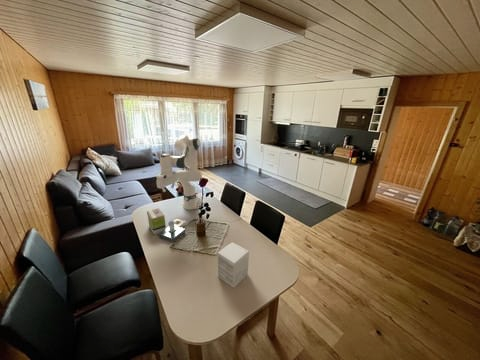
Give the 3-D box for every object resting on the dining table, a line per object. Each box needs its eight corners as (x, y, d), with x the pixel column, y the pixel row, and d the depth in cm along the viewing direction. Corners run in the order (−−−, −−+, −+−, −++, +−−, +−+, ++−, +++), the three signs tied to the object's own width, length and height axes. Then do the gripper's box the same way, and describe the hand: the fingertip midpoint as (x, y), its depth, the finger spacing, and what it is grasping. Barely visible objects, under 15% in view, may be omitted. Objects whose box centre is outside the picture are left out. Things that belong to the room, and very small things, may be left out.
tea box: (148, 226, 163) (146, 210, 158) (161, 222, 169) (159, 207, 164) (153, 235, 152) (151, 218, 147) (166, 230, 158) (164, 214, 153)
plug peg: (172, 233, 155) (171, 220, 151) (176, 234, 153) (175, 221, 149) (168, 236, 151) (167, 222, 147) (172, 237, 149) (171, 224, 146)
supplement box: (232, 264, 125) (232, 241, 119) (248, 274, 117) (249, 250, 112) (217, 276, 115) (216, 252, 110) (233, 288, 107) (234, 263, 102)
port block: (171, 228, 161) (171, 224, 159) (185, 233, 156) (185, 228, 154) (159, 238, 148) (158, 233, 147) (173, 243, 143) (172, 237, 142)
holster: (176, 221, 172) (176, 218, 171) (186, 224, 168) (185, 221, 167) (168, 227, 163) (168, 224, 162) (178, 230, 159) (178, 226, 158)
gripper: (172, 170, 166) (174, 185, 170) (154, 176, 148) (156, 193, 152) (178, 171, 163) (180, 186, 168) (160, 177, 146) (162, 194, 150)
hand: (168, 189), depth 160 cm, fingers open, 8 cm apart
